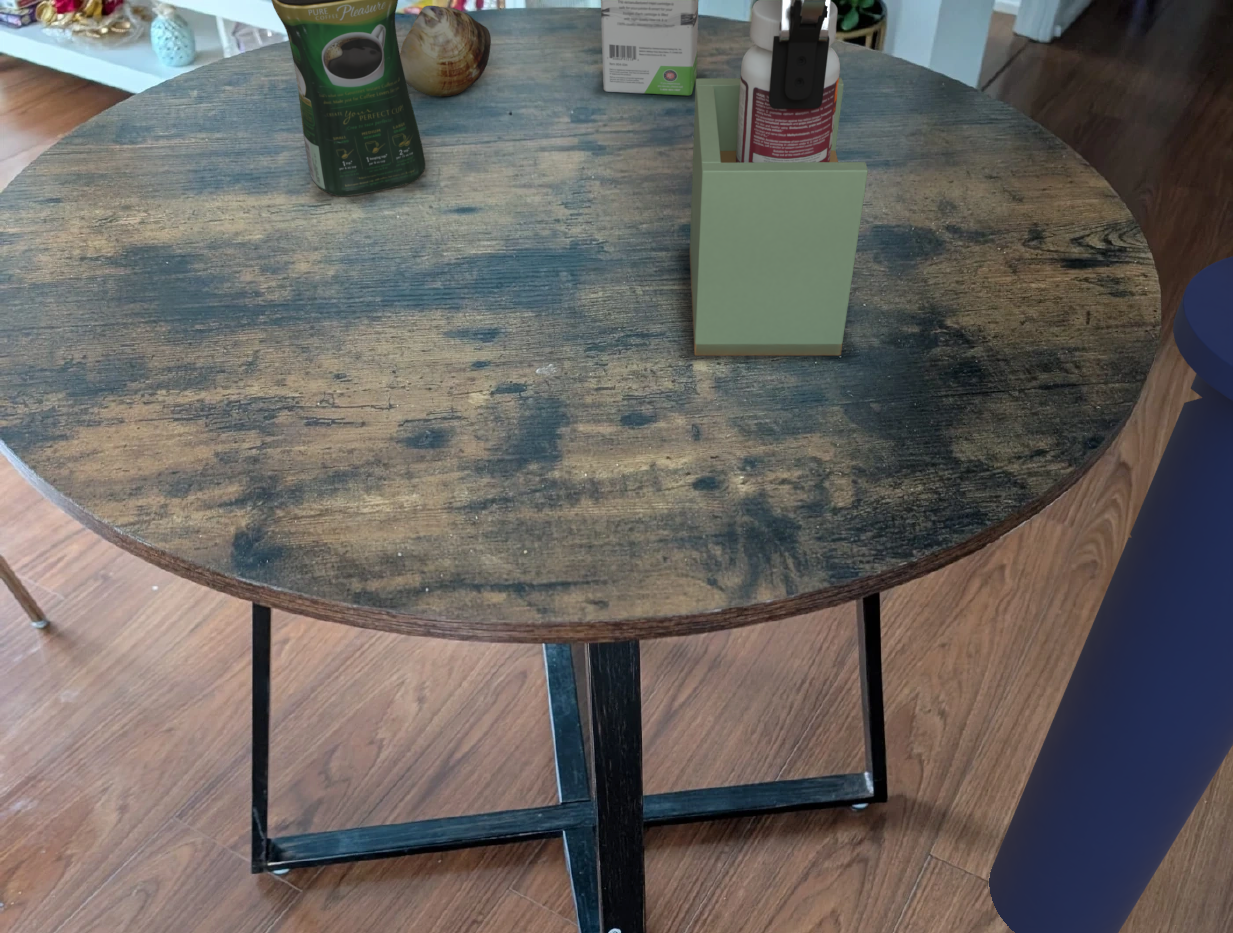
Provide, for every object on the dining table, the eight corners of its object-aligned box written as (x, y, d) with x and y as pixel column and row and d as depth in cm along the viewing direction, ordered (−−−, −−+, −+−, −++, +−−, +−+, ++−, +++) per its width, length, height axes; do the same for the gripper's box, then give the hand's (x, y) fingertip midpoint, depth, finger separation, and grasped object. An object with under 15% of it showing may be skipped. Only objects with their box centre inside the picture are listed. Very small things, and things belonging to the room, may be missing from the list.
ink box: (697, 76, 112) (702, -60, 104) (691, 97, 109) (695, -42, 100) (610, 71, 113) (608, -64, 105) (601, 92, 110) (598, -46, 101)
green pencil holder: (820, 252, 89) (841, 77, 79) (840, 355, 79) (868, 170, 70) (689, 252, 89) (695, 77, 80) (694, 355, 79) (702, 170, 70)
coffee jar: (411, 147, 102) (376, -93, 89) (435, 185, 97) (402, -63, 84) (302, 167, 100) (249, -77, 86) (321, 207, 95) (268, -45, 81)
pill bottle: (844, 196, 77) (868, 13, 69) (766, 218, 75) (782, 33, 67) (791, 160, 81) (808, -18, 73) (716, 180, 79) (725, 0, 71)
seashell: (421, 117, 107) (409, 24, 101) (391, 97, 110) (377, 6, 104) (508, 91, 110) (501, 0, 105) (476, 72, 114) (467, -17, 108)
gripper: (923, -241, 54) (867, 143, 67) (874, -306, 66) (834, 32, 79) (761, -239, 54) (737, 144, 67) (741, -304, 66) (724, 32, 79)
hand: (790, 80), depth 73 cm, fingers closed on pill bottle, 6 cm apart
